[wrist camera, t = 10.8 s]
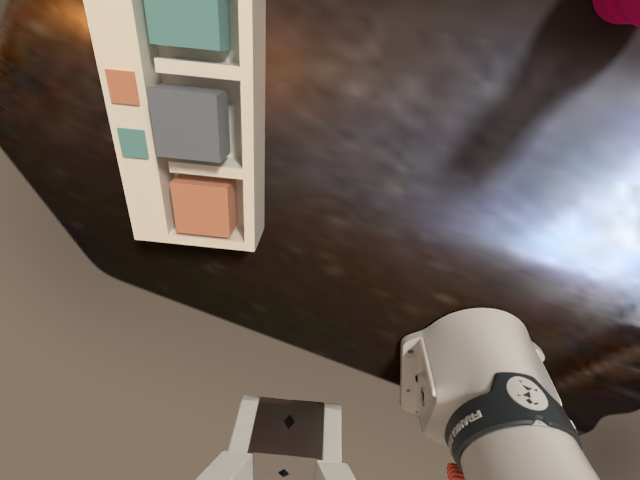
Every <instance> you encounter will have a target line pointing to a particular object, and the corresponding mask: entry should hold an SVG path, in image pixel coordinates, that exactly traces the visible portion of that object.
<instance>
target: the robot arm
mask: <svg viewBox="0 0 640 480" xmlns="http://www.w3.org/2000/svg"><path fill="white" fill-rule="evenodd" d="M544 359H545V356H544V354H543V352H542V350H541V349H540V347H538V346H537V345H536V344H535V343H533V342H532V341H531V339H530V337H529V334H528V331H527V329H526V327H525V325H524V324H523V323H522V322H521V321H520V320H519V319H518V318H517V317H515V316H514V315H512V314H510V313H507V312H505V311H502V310H498V309H492V308H471V309H465V310H461V311H457V312H454V313H451V314H448V315H446V316H444V317H442V318H440V319H439V320H437V321H435V322H434V323H433V324H431V325H430V326H428V327H427V328H425V329H424V330H421V331H418V332H415V333H412V334H409V335H407V336H405V337H403V338H402V340H401V359H400V405H401V408H402V410H404V411H405V412H407V413H409V414H411V415H414V416H417V417H419V420H420V424H421V428H422V431H423V433H424V434H425V435H426V437H428V438H429V439H431V440H433V441H435V442H437V443H440V444H442V445H444V446H447V447H448V448H449V452H450V454H451V455H452V456H453V458H454V460H455V462H456V464H454V463H448V465H447V474H448V478H449V480H599V478H598V476H597V475H596V473H595V471H594V470H593V468H592V467H591V465H590V463H589V462H588V460H587V458H586V457H585V455H584V453H583V452H582V442H581V439H580V438H579V436H578V434H577V431H576V430H575V429H576V428H575V426H574V424H573V423H572V421H571V420H570V419H569V418H568V416H567V414H566V413H565V411H564V409H563V408H562V403H561V400H560V398H559V396H558V394H557V391H556V389H555V387H554V385H553V383H552V381H551V379H550V377H549V375H548V373H547V371H546V369H545V367H544V365H543V363H542V362H543V361H544ZM341 410H342V409H341V405H340V404H330V403H323V402H311V401H299V400H285V399H276V398H267V397H259V396H249V395H244V396H243V398H242V400H241V403H240V407H239V411H238V414H237V418H236V422H235V425H234V429H233V433H232V436H231V440H230V444H229V447H228V451H224V450H223V451H222V452H221V453H220V454H219V455H218V456H217V457H216V458H215V459H214V460H213V461H212V462H211V463H210V464H209V465H208V466H207V468H206V469H205V470H204V471H203V472H202V473H201V474H200V475H199V476H198V477H197V478H196V480H356V478H355V477H354V475H353V473H352V471H351V469H350V467H349V466H348V464H347V463H344V462H342V412H341Z"/></svg>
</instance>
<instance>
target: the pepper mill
mask: <svg viewBox="0 0 640 480" xmlns="http://www.w3.org/2000/svg"><path fill="white" fill-rule="evenodd" d="M592 2H593V6H594V9H595V11H596V13H597V14H598V15H599V16H600V17H601V18H602V19H603V20H605V21H606V22H608V23H611V24H633V25H635V26H636V27H638V28H640V0H592Z"/></svg>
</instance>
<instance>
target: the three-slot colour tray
mask: <svg viewBox="0 0 640 480" xmlns="http://www.w3.org/2000/svg"><path fill="white" fill-rule="evenodd" d="M83 3H84V8H85V12H86V17H87V22H88V26H89V31H90V36H91V40H92V45H93V49H94V54H95V59H96V63H97V68H98V72H99V77H100V82H101V86H102V91H103V96H104V100H105V105H106V109H107V114H108V119H109V123H110V128H111V133H112V137H113V142H114V146H115V151H116V156H117V160H118V165H119V169H120V174H121V179H122V183H123V188H124V193H125V197H126V202H127V206H128V211H129V216H130V220H131V225H132V230H133V234H134V239H135V240H141V241H151V242H161V243H171V244H181V245H190V246H200V247H210V248H220V249H230V250H240V251H249V252H255V250H256V248H257V245H258V243H259V240H260V238H261V235H262V233H263V230H264V190H265V43H266V0H229V6H230V32H231V50H226V51H214V50H204V49H194V48H185V47H175V46H165V45H156V44H150V42H149V35H148V28H147V21H146V14H145V7H144V0H83ZM162 83H169V84H178V85H188V86H198V87H208V88H217V89H227V90H228V109H229V131H230V153H229V155H228V156H227V157H226V158H225V159H224V160H223V161H222V162H221V163H215V162H206V161H196V160H186V159H176V158H167V157H157V154H156V147H155V141H154V134H153V128H152V121H151V115H150V109H149V102H148V96H147V89H146V88H147V87H151V86H154V85H158V84H162ZM180 173H181V174H191V175H201V176H211V177H220V178H230V179H236V191H237V217H238V224H237V226H236V228H235V230H234V231H233V233H232V235H231V237H230V238H225V237H215V236H205V235H195V234H186V233H177V232H176V225H175V218H174V211H173V204H172V197H171V190H170V183H169V182H170V181H171V180H173V179H174V178H175V177H176V176H177V175H179V174H180Z"/></svg>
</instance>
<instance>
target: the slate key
mask: <svg viewBox="0 0 640 480" xmlns="http://www.w3.org/2000/svg"><path fill="white" fill-rule="evenodd" d="M146 89H147V96H148V102H149V109H150V115H151V121H152V128H153V134H154V141H155V147H156V154H157V157H167V158H176V159H186V160H196V161H206V162H215V163H221V162H222V161H223V160H224V159H225V158H226V157H227V156H228V155H229V153H230V131H229V109H228V90H227V89H217V88H208V87H198V86H188V85H178V84H169V83H162V84H158V85H154V86H151V87H147V88H146Z"/></svg>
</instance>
